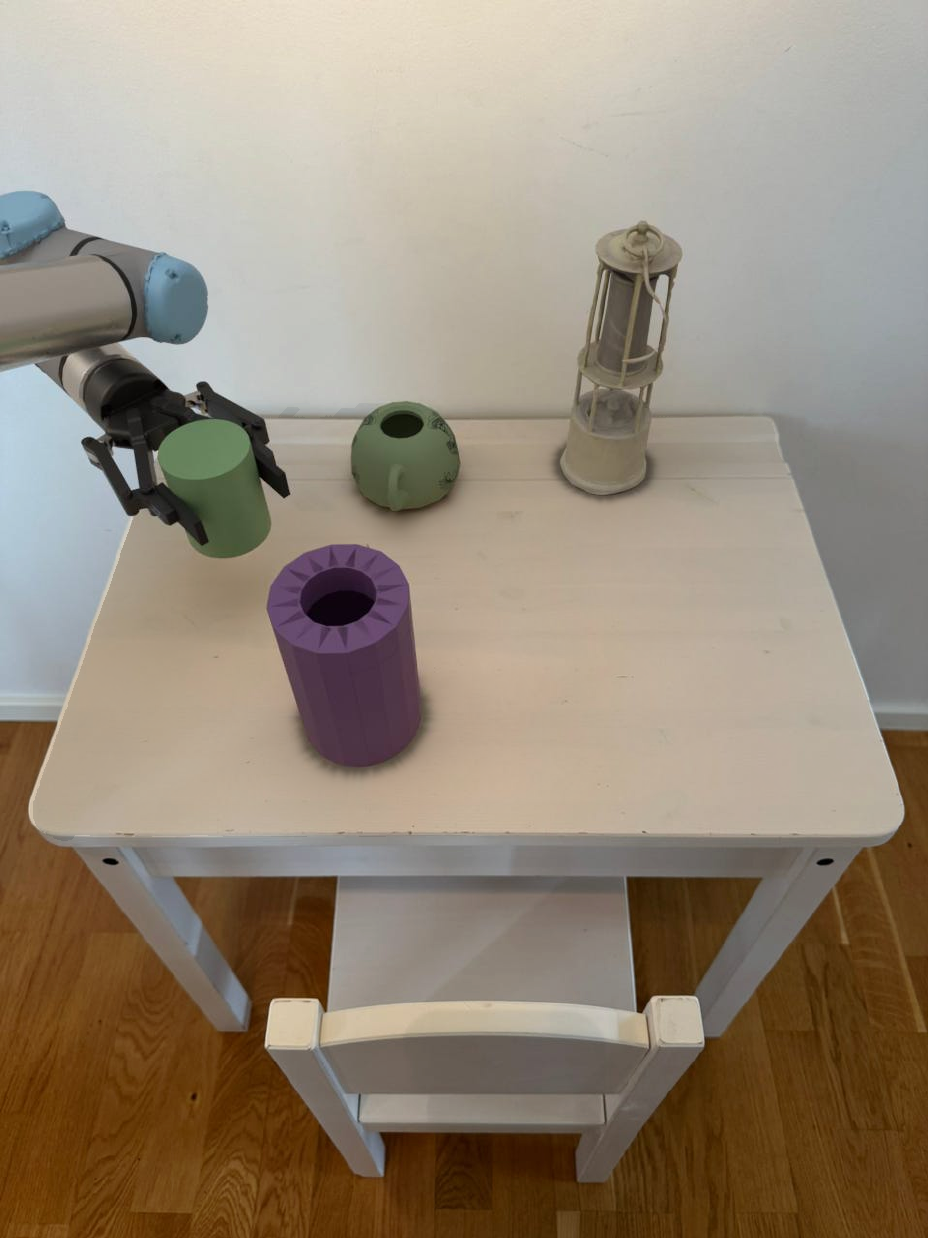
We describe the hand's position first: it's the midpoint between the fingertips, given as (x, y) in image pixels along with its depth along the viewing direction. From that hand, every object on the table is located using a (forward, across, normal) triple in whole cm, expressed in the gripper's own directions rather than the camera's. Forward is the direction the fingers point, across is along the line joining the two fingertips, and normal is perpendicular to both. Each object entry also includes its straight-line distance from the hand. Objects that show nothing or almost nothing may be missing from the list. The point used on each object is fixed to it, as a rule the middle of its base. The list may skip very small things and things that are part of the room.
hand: (243, 508), depth 76 cm
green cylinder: (-5, 0, -6) cm, 8 cm away
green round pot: (-7, -23, -17) cm, 29 cm away
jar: (+15, 0, -17) cm, 22 cm away
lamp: (+8, -42, -17) cm, 46 cm away
